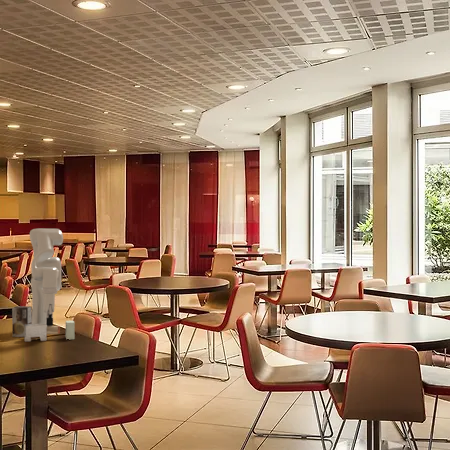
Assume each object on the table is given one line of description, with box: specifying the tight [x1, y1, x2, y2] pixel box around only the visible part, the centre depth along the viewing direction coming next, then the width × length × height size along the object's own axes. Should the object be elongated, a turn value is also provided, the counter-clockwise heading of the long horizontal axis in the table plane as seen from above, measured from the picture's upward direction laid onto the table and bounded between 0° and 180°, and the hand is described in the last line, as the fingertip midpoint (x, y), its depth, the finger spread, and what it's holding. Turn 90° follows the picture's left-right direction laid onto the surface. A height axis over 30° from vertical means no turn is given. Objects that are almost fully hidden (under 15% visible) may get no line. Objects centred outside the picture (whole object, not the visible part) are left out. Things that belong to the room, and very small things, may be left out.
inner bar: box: [47, 315, 61, 335], centre depth 355 cm, size 4×17×10 cm, turn 108°
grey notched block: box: [24, 324, 48, 342], centre depth 354 cm, size 8×11×8 cm
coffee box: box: [11, 305, 32, 338], centre depth 367 cm, size 9×6×16 cm
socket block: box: [65, 320, 76, 340], centre depth 360 cm, size 8×4×9 cm, turn 18°
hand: (49, 324), depth 356 cm, fingers closed on inner bar, 2 cm apart
